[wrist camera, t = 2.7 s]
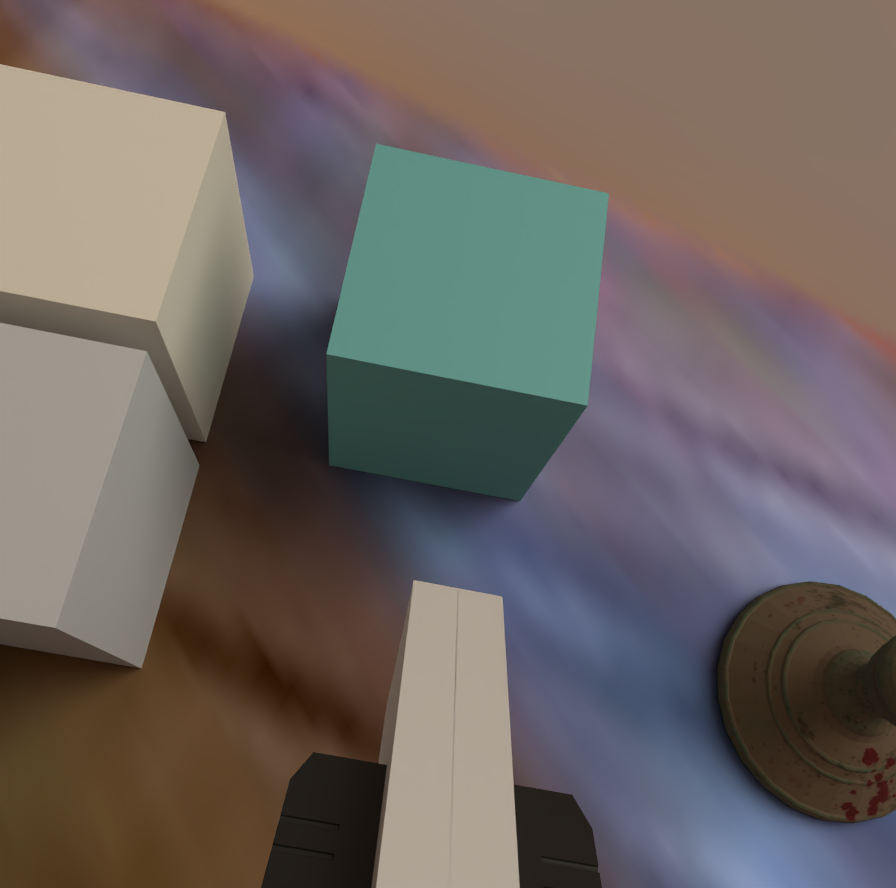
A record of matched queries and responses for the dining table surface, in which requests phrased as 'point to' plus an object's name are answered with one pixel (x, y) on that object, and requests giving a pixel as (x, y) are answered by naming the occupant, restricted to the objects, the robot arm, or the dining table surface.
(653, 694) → the dining table surface
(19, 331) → the grey block
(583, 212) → the teal block
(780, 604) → the candlestick holder
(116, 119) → the cream block
